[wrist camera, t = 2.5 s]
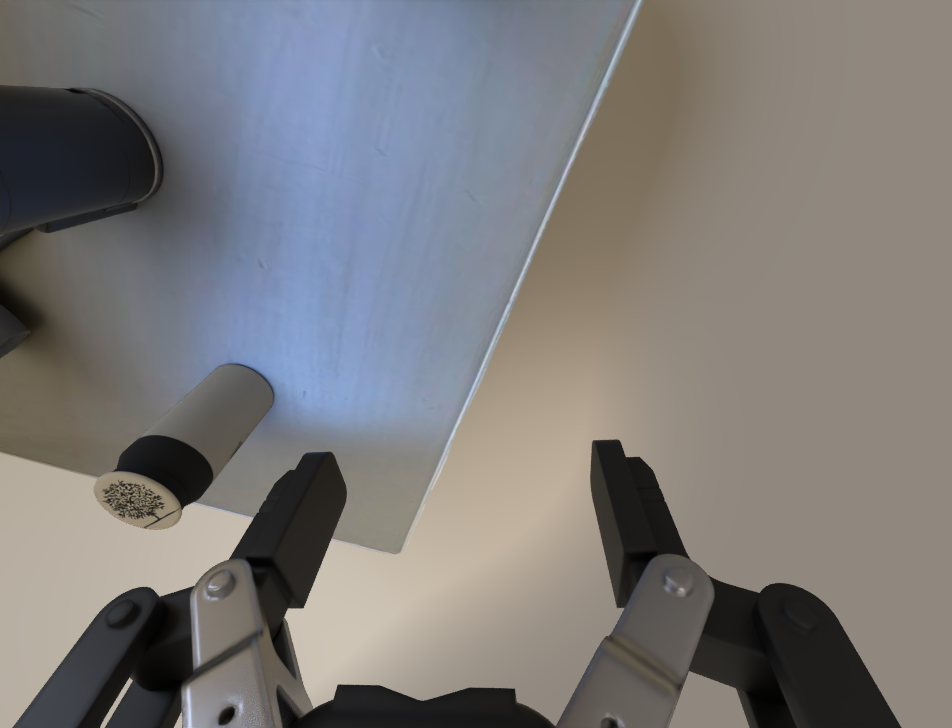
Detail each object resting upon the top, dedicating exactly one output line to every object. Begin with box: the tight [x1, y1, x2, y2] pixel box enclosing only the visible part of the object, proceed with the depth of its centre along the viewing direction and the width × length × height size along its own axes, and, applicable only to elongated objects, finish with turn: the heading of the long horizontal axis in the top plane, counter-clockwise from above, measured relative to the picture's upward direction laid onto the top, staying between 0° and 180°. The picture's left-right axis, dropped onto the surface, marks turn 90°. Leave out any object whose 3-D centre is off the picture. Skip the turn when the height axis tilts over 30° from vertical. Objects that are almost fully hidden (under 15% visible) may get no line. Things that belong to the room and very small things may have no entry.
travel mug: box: [94, 364, 273, 530], centre depth 45 cm, size 8×8×18 cm
